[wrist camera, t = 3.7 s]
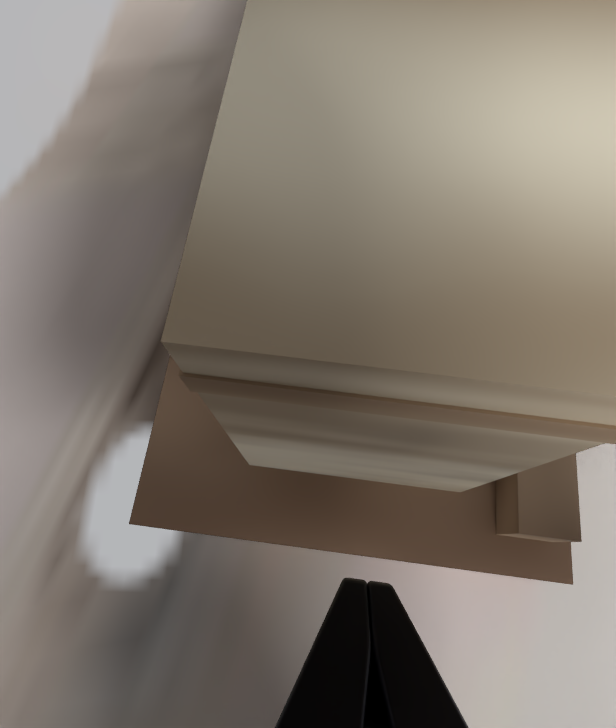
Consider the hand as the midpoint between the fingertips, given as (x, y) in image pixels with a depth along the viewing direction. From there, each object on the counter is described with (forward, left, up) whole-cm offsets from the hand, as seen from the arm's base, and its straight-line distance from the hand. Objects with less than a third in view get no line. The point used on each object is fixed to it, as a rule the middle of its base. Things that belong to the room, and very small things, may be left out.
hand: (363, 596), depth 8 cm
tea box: (+8, +4, -5) cm, 10 cm away
